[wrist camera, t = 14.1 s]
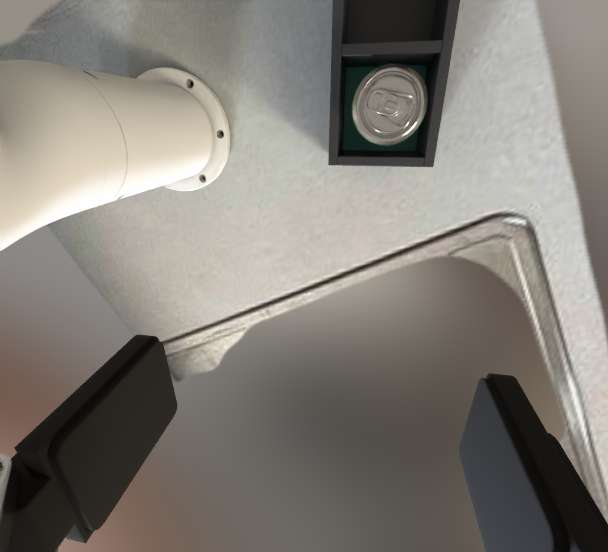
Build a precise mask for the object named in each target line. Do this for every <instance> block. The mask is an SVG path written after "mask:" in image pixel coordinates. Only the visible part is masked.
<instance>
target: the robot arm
mask: <svg viewBox="0 0 608 552" xmlns="http://www.w3.org/2000/svg"><path fill="white" fill-rule="evenodd" d="M192 82H193V83H194V86H192ZM222 131H223V133H224V136H222V134H221V132H222ZM229 150H230V129H229V125H228V120H227V117H226V114H225V112H224V109H223V107H222V105H221V103H220V102H219V100H218V98H217V97H216V95H215V94H214V93H213V92H212V90H211V89H210V88H209V87H208V86H207V85H206V84H205V83H204V82H202V81H201V80H200V79H199V78H197V77H195V76H194V75H192V74H190V73H188V72H185V71H182V70H179V69H175V68H170V67H160V68H155V69H151V70H148V71H146V72H145V73H143V74H141V75H140V76H138V77H137V78H130V77H125V76H119V75H114V74H108V73H103V72H97V71H92V70H86V69H80V68H75V67H69V66H64V65H58V64H54V63H48V62H42V61H36V60H24V59H16V60H4V61H0V251H1V250H3V249H4V248H6V247H7V246H9V245H11V244H12V243H14V242H15V241H17V240H18V239H20V238H22V237H24V236H25V235H27V234H29V233H30V232H32V231H34V230H36V229H38V228H40V227H42V226H44V225H47V224H49V223H51V222H54V221H56V220H58V219H61V218H64V217H66V216H69V215H72V214H75V213H78V212H81V211H84V210H87V209H90V208H93V207H96V206H100V205H103V204H106V203H109V202H112V201H115V200H118V199H122V198H125V197H128V196H131V195H134V194H137V193H140V192H143V191H147V190H150V189H153V188H156V187H159V186H164V187H167V188H170V189H173V190H179V191H191V190H195V189H199V188H202V187H204V186H206V185H208V184H209V183H211V182H212V181H213V180H215V179H216V178H217V176H218V175H219V174H220V173H221V172H222V170H223V168H224V166H225V164H226V162H227V159H228V155H229ZM204 176H205V177H206V179H205V178H204ZM176 410H177V401H176V397H175V393H174V388H173V384H172V380H171V376H170V371H169V367H168V363H167V359H166V354H165V350H164V346H163V343H162V342H159V339H158V338H157V337H155V336H147V335H136V336H134V337H133V338H132V339H131V340H130V341H129V342H128V343H127V344H126V345H124V346H123V347H122V348H121V349H120V350H119V351H118V352H117V353H116V354H115V355H114V356H113V357H112V358H110V359H109V360H108V361H107V362H106V363H105V364H104V365H103V366H102V367H101V368H100V369H99V370H98V371H96V372H95V373H94V374H93V375H92V376H91V377H90V378H89V379H88V380H87V381H86V382H85V383H84V384H82V385H81V386H80V387H79V388H78V389H77V390H76V391H75V392H74V393H73V394H72V395H71V396H70V397H68V398H67V399H66V400H65V401H64V402H63V403H62V404H61V405H60V406H59V407H58V408H57V409H56V410H54V412H52V413H51V414H50V415H49V416H48V417H47V418H46V419H45V420H44V421H43V422H42V423H41V424H40V425H38V426H37V427H36V428H35V429H34V430H33V431H32V432H31V433H30V434H29V435H28V436H27V437H25V438H24V439H23V440H22V441H21V442H20V443H19V444H18V445H17V446H16V447H15V450H16V451H17V454H16V455H15V456H13V457H12V458H11V459H10V458H9V456H8V455H6V454H2V453H0V552H58V547H59V545H60V544H61V543H62V541H63V539H64V538H65V537H66V538H67V539H70V540H74V541H78V542H83V543H86V542H87V541H88V539H89V538H90V536H91V534H92V533H93V532H94V530H97V529H99V528H100V527H101V526H102V525H103V524H104V522H105V521H106V519H107V518H108V516H109V515H110V513H111V512H112V510H113V509H114V507H115V506H116V504H117V503H118V501H119V500H120V498H121V497H122V495H123V493H124V492H125V490H126V489H127V487H128V486H129V484H130V482H131V481H132V480H133V478H134V477H135V475H136V474H137V472H138V470H139V469H140V467H141V465H142V464H143V463H144V461H145V459H146V458H147V456H148V455H149V454H150V452H151V451H152V449H153V447H154V446H155V444H156V443H157V441H158V440H159V438H160V437H161V435H162V434H163V432H164V431H165V429H166V427H167V426H168V424H169V423H170V421H171V420H172V418H173V417H174V415H175V413H176ZM459 454H460V460H461V463H462V467H463V470H464V474H465V478H466V481H467V485H468V489H469V492H470V496H471V500H472V503H473V507H474V511H475V514H476V518H477V522H478V525H479V529H480V532H481V536H482V540H483V543H484V547H485V550H486V552H608V524H607V522H606V521H605V519H604V517H603V515H602V514H601V512H600V510H599V509H598V507H597V505H596V504H595V502H594V500H593V499H592V497H591V495H590V494H589V492H588V490H587V489H586V487H585V485H584V484H583V482H582V480H581V479H580V477H579V475H578V473H577V472H576V470H575V468H574V467H573V465H572V463H571V462H570V460H569V458H568V457H567V455H566V453H565V452H564V450H563V448H562V447H561V445H560V443H559V442H558V441H557V439H556V438H555V437H554V436H552V435H551V434H549V433H547V431H546V430H545V428H544V426H543V424H542V423H541V421H540V419H539V417H538V416H537V414H536V412H535V411H534V409H533V407H532V405H531V404H530V402H529V400H528V398H527V397H526V395H525V393H524V392H523V390H522V388H521V386H520V384H519V383H518V382H517V380H516V378H515V377H513V376H509V375H500V374H488V375H487V377H486V378H481V379H480V380H479V382H478V386H477V389H476V392H475V396H474V399H473V402H472V406H471V409H470V412H469V416H468V419H467V422H466V425H465V429H464V432H463V435H462V439H461V442H460V447H459Z"/></svg>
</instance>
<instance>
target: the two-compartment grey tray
mask: <svg viewBox="0 0 608 552" xmlns="http://www.w3.org/2000/svg"><path fill="white" fill-rule="evenodd" d="M459 3H460V0H333V21H332V57H331V93H330V129H329V165H343V166H399V167H423V166H424V167H433V165H434V158H435V152H436V146H437V140H438V134H439V127H440V121H441V115H442V109H443V103H444V96H445V90H446V84H447V78H448V72H449V65H450V59H451V53H452V47H453V41H454V34H455V28H456V22H457V16H458V9H459ZM387 63H401V64H405V65H407V66H409V67H411V68H412V69H414V70H415V71H416V72H417V73H418V74H419V75H420V76H421V78H422V80H423V81H424V84H425V86H426V90H427V98H428V101H427V109H426V113H425V116H424V119H423V121H422V122H421V124H420V126H419V127H418V129H417V130H416V131H415V132H414V133H413V134H412V135H411V136H410V137H409V138H407V139H406V140H404V141H402V142H400V143H398V144H395V145H390V146H381V145H376V144H373V143H371V142H369V141H367V140H366V139H364V138H363V137H362V136H361V135H360V133H359V132H358V130H357V129H356V127H355V125H354V122H353V118H352V100H353V96H354V93H355V91H356V88H357V86H358V85H359V83H360V81H361V80H362V79H363V78H364V76H365V75H367V74H368V73H369V72H370V71H371V70H373V69H374V68H376V67H378V66H380V65H383V64H387Z"/></svg>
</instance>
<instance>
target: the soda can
mask: <svg viewBox="0 0 608 552" xmlns="http://www.w3.org/2000/svg"><path fill="white" fill-rule="evenodd" d="M427 101H428V98H427V90H426V86H425V84H424V81H423V80H422V78H421V76H420V75H419V74H418V73H417V72H416V71H415V70H414V69H412V68H411V67H409V66H407V65H405V64H401V63H387V64H383V65H380V66H378V67H376V68H374V69H373V70H371V71H370V72H369V73H368V74H367V75H365V76H364V78H363V79H362V80H361V81H360V83H359V85H358V86H357V88H356V91H355V93H354V96H353V100H352V118H353V122H354V125H355V127H356V129H357V130H358V132H359V133H360V135H361V136H362V137H363V138H364V139H366V140H367V141H369V142H371V143H373V144H376V145H381V146H390V145H395V144H398V143H400V142H402V141H404V140H406V139H407V138H409V137H410V136H411V135H412V134H413V133H414V132H415V131H416V130H417V129H418V127H419V126H420V124H421V122H422V121H423V119H424V116H425V113H426V109H427Z"/></svg>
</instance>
